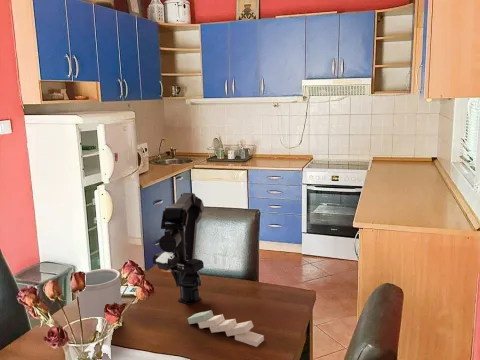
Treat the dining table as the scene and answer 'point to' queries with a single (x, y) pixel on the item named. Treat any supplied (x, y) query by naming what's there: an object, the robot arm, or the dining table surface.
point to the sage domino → (200, 317)
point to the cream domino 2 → (224, 326)
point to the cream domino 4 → (250, 338)
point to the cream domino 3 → (240, 328)
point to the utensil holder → (99, 292)
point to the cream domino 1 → (212, 321)
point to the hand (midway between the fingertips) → (178, 285)
